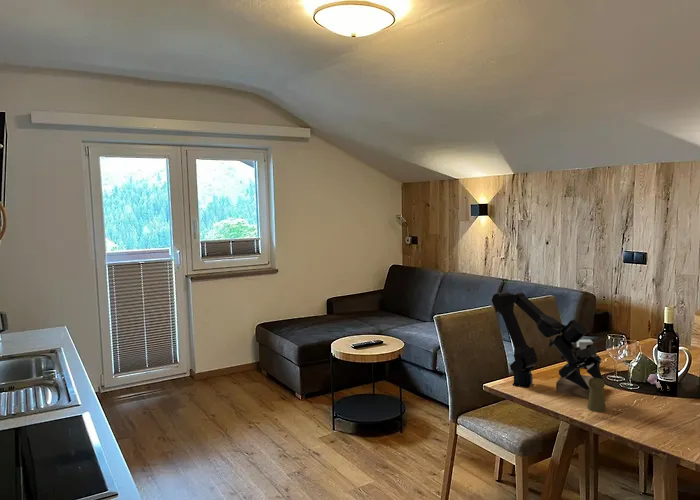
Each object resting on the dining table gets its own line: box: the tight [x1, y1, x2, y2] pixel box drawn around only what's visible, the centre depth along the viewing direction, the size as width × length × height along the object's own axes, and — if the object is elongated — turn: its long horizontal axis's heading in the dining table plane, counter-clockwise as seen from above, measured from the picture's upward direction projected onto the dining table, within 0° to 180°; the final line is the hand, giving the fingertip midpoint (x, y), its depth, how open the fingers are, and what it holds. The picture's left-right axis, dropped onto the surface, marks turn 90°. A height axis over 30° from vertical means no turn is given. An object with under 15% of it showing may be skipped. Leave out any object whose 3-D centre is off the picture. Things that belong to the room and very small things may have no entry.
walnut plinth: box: [555, 374, 594, 399], centre depth 203 cm, size 14×14×4 cm
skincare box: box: [576, 339, 594, 369], centre depth 230 cm, size 6×4×12 cm
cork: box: [586, 378, 607, 413], centre depth 184 cm, size 6×6×11 cm
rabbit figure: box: [647, 372, 670, 391], centre depth 205 cm, size 6×6×15 cm
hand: (595, 386), depth 184 cm, fingers open, 9 cm apart
